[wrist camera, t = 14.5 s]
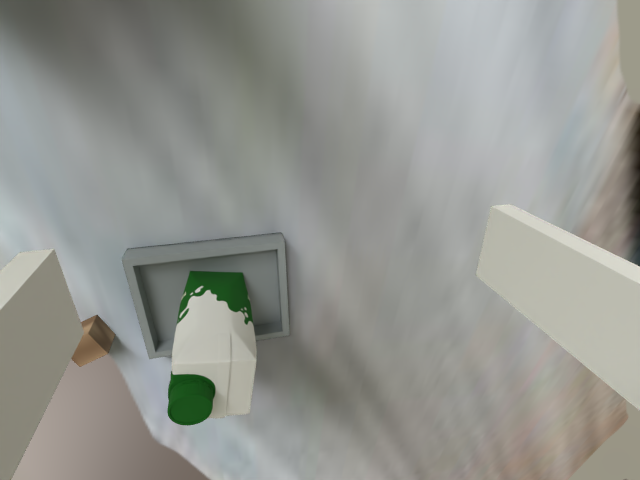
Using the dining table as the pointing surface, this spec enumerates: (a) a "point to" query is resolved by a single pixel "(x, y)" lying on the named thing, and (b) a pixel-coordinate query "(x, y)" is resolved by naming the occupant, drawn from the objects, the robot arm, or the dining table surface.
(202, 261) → the tray
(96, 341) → the walnut block
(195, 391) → the soya milk
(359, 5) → the dining table surface
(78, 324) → the robot arm
